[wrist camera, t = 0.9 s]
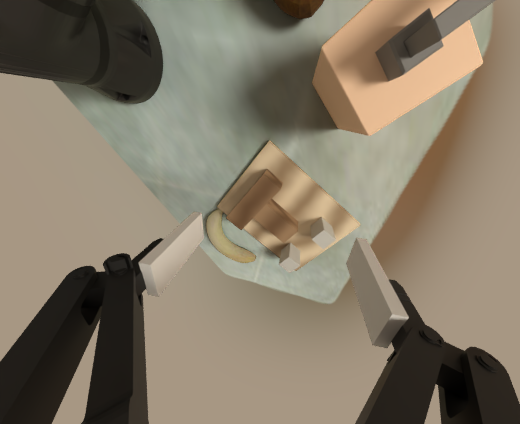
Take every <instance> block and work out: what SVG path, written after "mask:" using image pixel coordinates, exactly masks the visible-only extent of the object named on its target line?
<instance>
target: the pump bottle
mask: <svg viewBox="0 0 520 424" xmlns="http://www.w3.org/2000/svg"><path fill="white" fill-rule="evenodd" d="M494 1H495V0H371V1H370V2H369V3H368V4H367V5H366V6H365V7H364V8H363V9H361V10H360V11H359V12H358V13H357V14H356V15H355V16H354V17H353V18H352V19H351V20H349V21H348V22H347V23H346V24H345V25H344V26H343V27H342V28H341V29H340V30H339V31H338V32H336V33H335V34H334V35H333V36H332V37H331V38H330V39H329V40H328V41H327V42H326V43H324V44H323V45H322V49H321V52H320V56H319V59H318V63H317V67H316V70H315V74H314V78H313V81H312V84H313V86H314V88H315V89H316V91H317V93H318V95H319V96H320V98H321V100H322V102H323V103H324V105H325V107H326V109H327V110H328V112H329V114H330V116H331V117H332V119H333V121H334V123H335V124H336V126H337V128H338V129H342V130H346V131H351V132H355V133H359V134H364V135H369V136H371V135H372V134H374V133H375V132H377V131H378V130H380V129H382V128H383V127H385V126H386V125H388V124H390V123H391V122H393V121H394V120H396V119H397V118H399V117H401V116H402V115H404V114H405V113H407V112H408V111H410V110H412V109H413V108H415V107H416V106H418V105H419V104H421V103H423V102H424V101H426V100H427V99H429V98H430V97H432V96H434V95H435V94H437V93H438V92H440V91H442V90H443V89H445V88H446V87H448V86H449V85H451V84H453V83H454V82H456V81H457V80H459V79H460V78H462V77H464V76H465V75H467V74H468V73H470V72H471V71H473V70H475V69H476V68H478V67H479V66H481V65H482V63H483V60H482V57H481V54H480V51H479V48H478V45H477V42H476V39H475V36H474V33H473V30H472V27H471V24H470V21H469V19H471V18H472V17H473V16H475V15H476V14H477V13H479V12H480V11H482V10H483V9H484V8H486V7H487V6H488V5H490V4H491V3H493V2H494Z"/></svg>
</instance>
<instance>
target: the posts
mask: <svg viewBox="0 0 520 424" xmlns="http://www.w3.org/2000/svg"><path fill="white" fill-rule="evenodd" d="M311 238H312V240H313V241H314V242H315V243H316V244H318V245H319V246H320V247H321V248H322V249H324V248H326V247H327V246H328V245H330V244H331V243H333V242H334V241H335V240H336V238H335V235H334V231H333V228H332V226H331V225H330V224H329V223H328V222H327V221H325V220H324V219H323V218H322V217H321V218H320V219H319V220H317V221H316V222H315V223H314V224H312V225H311ZM279 265H280V266H282V267H283V268H284V269H285V270H287V271H288V272H289V273H291V272H292V271H293V270H295V269H296V268H298V267H299V266H300V250H299V249H298V248H297V247H295V246H294V245H293V244H292V243H291V242H290V243H289V244H288V245H287V246H286V247H284V248H283V249H282V250H281V256H280V262H279Z"/></svg>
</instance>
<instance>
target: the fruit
mask: <svg viewBox="0 0 520 424" xmlns="http://www.w3.org/2000/svg"><path fill="white" fill-rule="evenodd" d="M222 214H223V211H221V210H220V209H217V210H215V211H213V212H212V213H211V214H210V215H209V217H208V219H207V222H206V229H207V234H208V237H209V239H210V241H211V242H212V244H213V245H214V246H215V248H216V249H217V250H218V251H219V252H221V253H222V254H223V255H225V256H227V257H228V258H230V259H232V260H235V261H238V262H241V263H249V262H252V261H255V259H256V255H254V254H253V253H251V252H250V251H248V250H246V249H243V248H241V247H239V246H237V245H235V244H233V243H232V242H231V241H229V240H228V239H227V238H226V236H225V235H224V233H223V230H222V225H221V222H222Z"/></svg>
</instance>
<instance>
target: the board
mask: <svg viewBox="0 0 520 424" xmlns="http://www.w3.org/2000/svg"><path fill="white" fill-rule="evenodd" d="M267 169H268V170H269V171H271V172H272V173H273V174H274V175H275V176H276V177H277V178H278V179H279V180H281V181H282V182H283V184H282V188H281V190H280V191H279V192H278V193H277V194H276V195H275V196H274V197H273V198H272V199H273V200H274V201H275V202H276V203H278V204H279V205H280V206H281V207H282V208H283V209H284V210H286V211H287V212H288V213H289V214H290V215H291V216H293V217H294V218H295V219H296V220H297V221H298V232H297V233H296V234H294V235H293V236H292V237H291V238H290V239H288V240H287V241H286V242H285V243H283V242H282V241H280V240H279V239H278V238H277V237H275V236H274V235H273V234H272V233H271V232H269V231H268V230H267V229H266V228H265V227H263V226H262V225H261V224H260V223H259V222H257V221H256V220H255V219H254V218H253V219H252V220H251V221H250V222H249V223H248V224H247V225H246V226H245V227H244V229H245V230H246V231H247V232H248V233H250V234H251V235H252V236H253V237H255V238H256V239H257V240H258V241H260V242H261V243H262V244H263V245H264V246H266V247H267V248H268V249H269V250H271V251H272V252H273V253H274V254H276V255H277V256H278V257H279V258H280V256H281V250H282V249H283V248H284V247H286V246H287V245H288V244H289V243H290V242H291V243H292V244H293V245H294V246H295V247H297V248H298V249H299V250H300V266H299V267H298V268H296V269H295V271H297V270H298V269H299V268H301V267H302V266H304V265H305V264H307V263H308V262H309V261H311V260H312V259H314V258H315V257H316V256H318V255H319V254H321V253H322V252H324V251H325V250H326V249H328V248H329V247H331V246H332V245H333V244H335V243H336V242H338V241H339V240H341V239H342V238H343V237H345V236H346V235H348V234H349V233H350V232H352V231H353V230H355V229H356V228H357V227H359V226H360V223H359V222H358V221H357V220H356V219H355V218H354V217H353V216H352V215H350V214H349V213H348V212H347V211H346V210H345V209H344V208H343V207H342V206H341V205H340V204H339V203H337V202H336V201H335V200H334V199H333V198H332V197H331V196H330V195H329V194H328V193H327V192H325V191H324V190H323V189H322V188H321V187H320V186H319V185H318V184H317V183H316V182H315V181H314V180H312V179H311V178H310V177H309V176H308V175H307V174H306V173H305V172H304V171H303V170H302V169H301V168H299V167H298V166H297V165H296V164H295V163H294V162H293V161H292V160H291V159H290V158H289V157H288V156H286V155H285V154H284V153H283V152H282V151H281V150H280V149H279V148H278V147H277V146H276V145H275V144H273V143H272V142H271V141H269V142H268V143H267V144H266V145H265V147H264V148H263V149H262V150H261V152H260V153H259V154H258V155H257V157H256V158H255V159H254V161H253V162H252V163H251V164H250V166H249V167H248V168H247V169H246V171H245V172H244V173H243V174H242V176H241V177H240V178H239V179H238V181H237V182H236V183H235V184H234V186H233V187H232V188H231V189H230V191H229V192H228V193H227V194H226V196H225V197H224V198H223V199H222V201H221V202H220V203H219V204H218V206H217V207H218V208H219V209H220V210H221V211H223V212H224V213H225V214H226V215H228V214H229V213H230V212H231V211H232V209H233V208H234V207H235V206H236V205H237V203H238V202H239V201H240V200H241V199H242V198H243V197H244V195H245V194H246V193H247V192H248V191H249V190H250V188H251V187H252V186H253V185H254V184H255V183H256V181H257V180H258V179H259V178H260V177H261V176H262V174H263V173H264V172H265V171H266V170H267ZM321 217H322V218H323V219H324V220H325V221H327V222H328V223H329V224H330V225H331V226H332V228H333V231H334V235H335V238H336V240H335V241H334V242H333V243H331V244H330V245H328V246H327V247H326V248H324V249H322V248H321V247H320V246H319V245H318V244H316V243H315V242H314V241H313V240H312V238H311V225H312V224H314V223H315V222H316V221H317V220H319V219H320V218H321Z"/></svg>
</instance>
